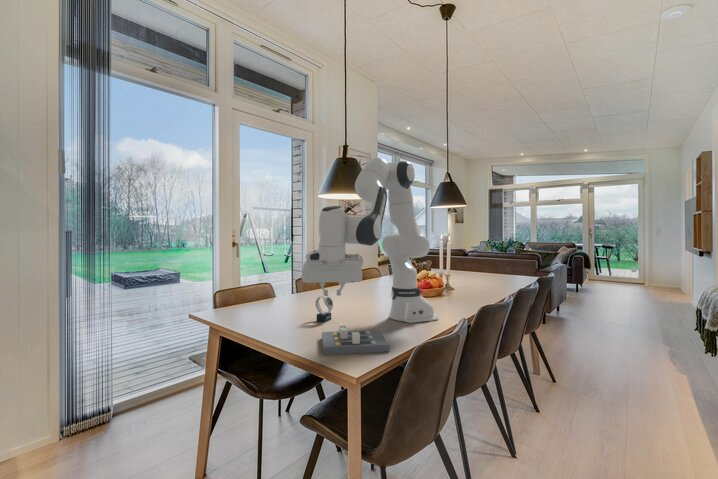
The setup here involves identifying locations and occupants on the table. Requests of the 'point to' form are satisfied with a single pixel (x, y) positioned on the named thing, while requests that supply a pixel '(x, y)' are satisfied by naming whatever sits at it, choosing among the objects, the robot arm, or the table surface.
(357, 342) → the breaker handle
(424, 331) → the table surface
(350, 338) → the breaker panel
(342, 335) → the breaker handle middle
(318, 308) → the watch
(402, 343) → the table surface
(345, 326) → the breaker handle far
